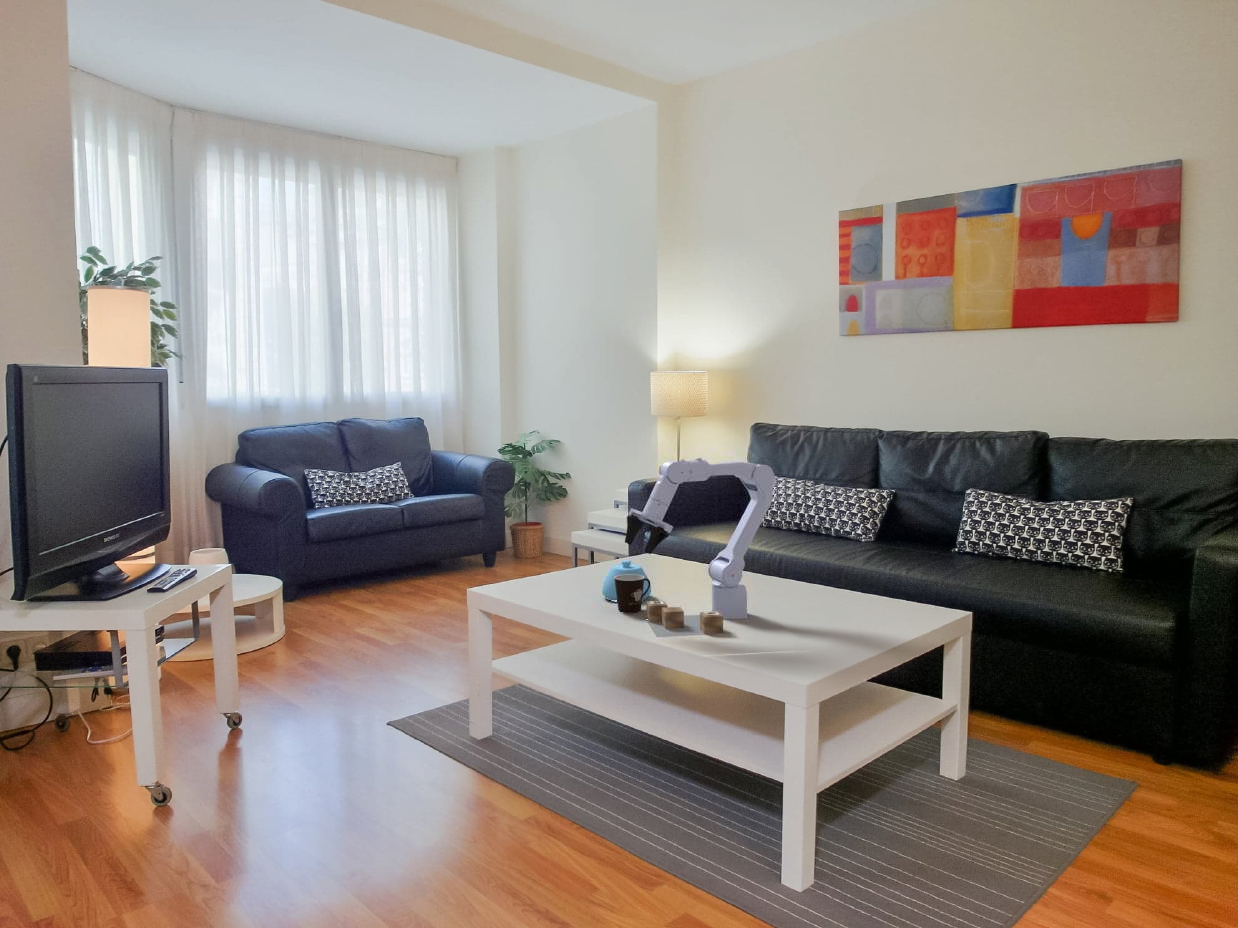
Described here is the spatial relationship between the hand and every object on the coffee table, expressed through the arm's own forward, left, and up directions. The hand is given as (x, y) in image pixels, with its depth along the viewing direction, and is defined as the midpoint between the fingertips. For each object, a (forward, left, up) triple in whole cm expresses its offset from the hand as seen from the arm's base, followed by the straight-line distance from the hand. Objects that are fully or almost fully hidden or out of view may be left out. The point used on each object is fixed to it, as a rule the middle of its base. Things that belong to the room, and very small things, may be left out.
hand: (637, 548), depth 237 cm
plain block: (-9, +3, -21) cm, 23 cm away
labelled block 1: (-6, -4, -21) cm, 22 cm away
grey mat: (-12, +3, -21) cm, 24 cm away
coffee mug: (-1, -16, -21) cm, 26 cm away
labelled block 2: (-18, +10, -21) cm, 29 cm away
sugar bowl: (-1, -33, -21) cm, 39 cm away
